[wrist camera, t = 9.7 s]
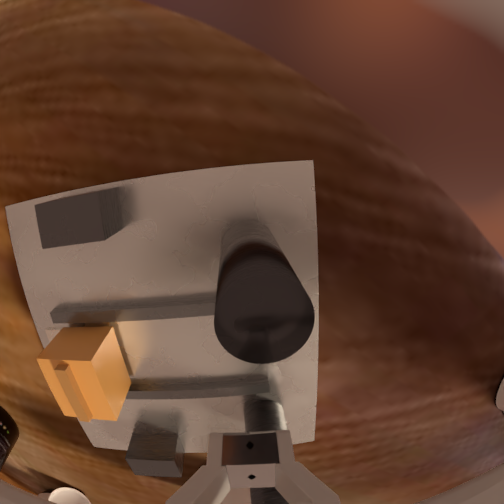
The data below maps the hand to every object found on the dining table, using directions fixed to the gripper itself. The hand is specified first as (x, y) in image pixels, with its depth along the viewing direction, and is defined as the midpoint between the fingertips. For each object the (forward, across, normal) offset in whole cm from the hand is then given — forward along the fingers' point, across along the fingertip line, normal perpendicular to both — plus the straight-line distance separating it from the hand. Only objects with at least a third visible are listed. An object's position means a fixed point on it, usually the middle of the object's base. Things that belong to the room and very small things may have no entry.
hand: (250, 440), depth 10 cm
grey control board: (+12, +6, +2) cm, 13 cm away
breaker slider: (+8, +10, +2) cm, 13 cm away
